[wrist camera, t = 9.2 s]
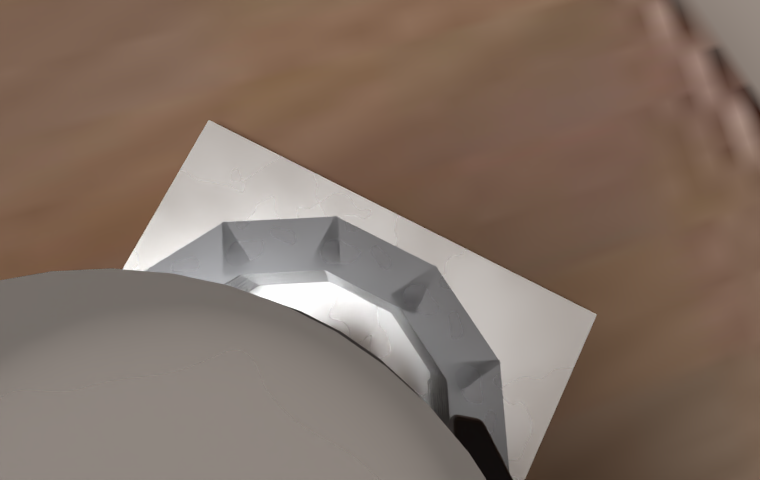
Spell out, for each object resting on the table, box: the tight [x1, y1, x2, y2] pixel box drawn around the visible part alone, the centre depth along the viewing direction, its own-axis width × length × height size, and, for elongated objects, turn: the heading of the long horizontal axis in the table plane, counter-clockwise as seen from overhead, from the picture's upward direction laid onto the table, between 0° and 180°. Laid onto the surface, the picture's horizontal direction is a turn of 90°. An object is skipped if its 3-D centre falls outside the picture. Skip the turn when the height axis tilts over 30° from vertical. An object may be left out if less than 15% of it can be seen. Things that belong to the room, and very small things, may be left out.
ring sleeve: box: [123, 120, 597, 480], centre depth 15 cm, size 12×12×4 cm
